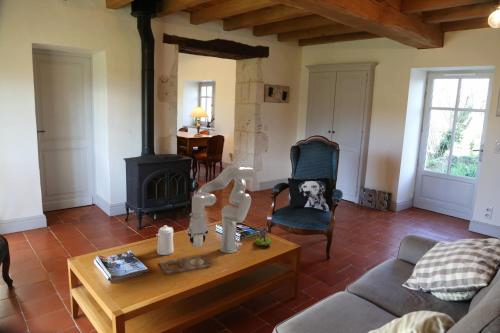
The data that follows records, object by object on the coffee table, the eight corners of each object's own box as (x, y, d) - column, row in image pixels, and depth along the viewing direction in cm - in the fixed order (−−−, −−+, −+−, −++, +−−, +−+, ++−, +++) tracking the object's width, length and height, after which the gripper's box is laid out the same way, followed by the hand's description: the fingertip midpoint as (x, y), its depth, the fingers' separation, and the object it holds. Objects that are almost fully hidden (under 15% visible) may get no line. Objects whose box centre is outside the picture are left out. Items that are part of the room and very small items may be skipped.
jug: (190, 243, 228) (190, 231, 226) (200, 242, 231) (200, 230, 229) (195, 249, 218) (195, 237, 217) (206, 248, 221) (206, 236, 220)
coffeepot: (148, 259, 230) (148, 231, 227) (165, 244, 254) (165, 219, 251) (164, 261, 228) (164, 233, 225) (179, 246, 252) (180, 220, 249)
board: (202, 256, 237) (202, 255, 237) (210, 267, 223) (210, 265, 223) (159, 263, 225) (159, 261, 225) (165, 274, 211) (165, 272, 211)
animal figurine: (250, 243, 263) (251, 224, 260) (262, 240, 271) (263, 221, 269) (263, 250, 253) (264, 229, 250) (276, 246, 261) (277, 226, 259)
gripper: (186, 218, 215) (185, 246, 218) (213, 215, 222) (212, 242, 226) (182, 214, 221) (182, 241, 225) (209, 211, 229) (208, 238, 232)
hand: (197, 241), depth 225 cm, fingers closed on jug, 6 cm apart
